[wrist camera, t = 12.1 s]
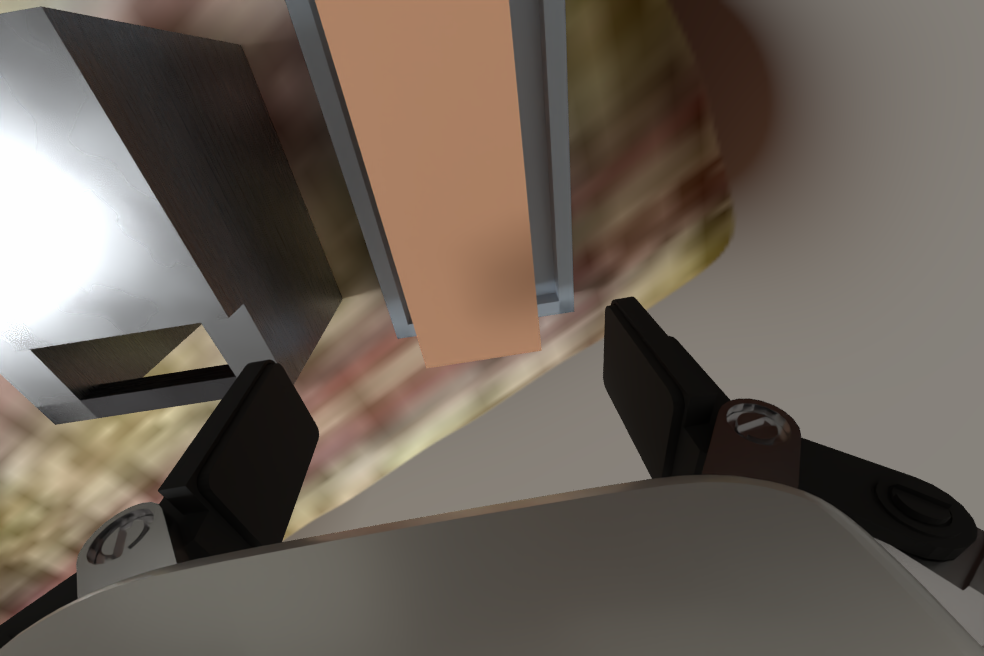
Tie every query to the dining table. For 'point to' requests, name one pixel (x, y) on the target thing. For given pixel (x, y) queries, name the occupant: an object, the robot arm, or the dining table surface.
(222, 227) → the dispenser
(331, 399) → the dining table surface
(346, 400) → the dining table surface
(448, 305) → the tan rectangular block
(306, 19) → the tray
